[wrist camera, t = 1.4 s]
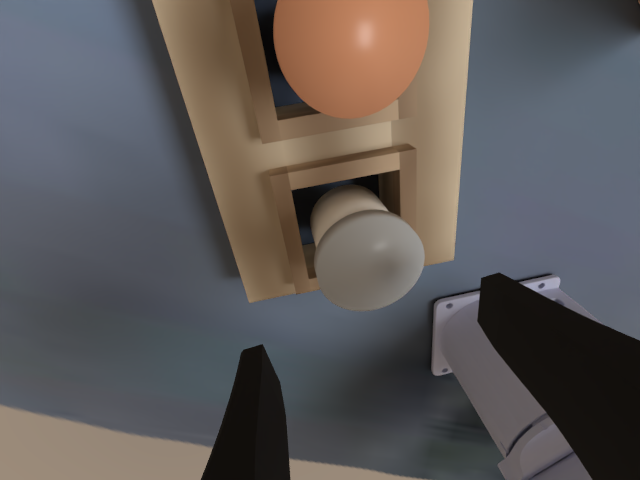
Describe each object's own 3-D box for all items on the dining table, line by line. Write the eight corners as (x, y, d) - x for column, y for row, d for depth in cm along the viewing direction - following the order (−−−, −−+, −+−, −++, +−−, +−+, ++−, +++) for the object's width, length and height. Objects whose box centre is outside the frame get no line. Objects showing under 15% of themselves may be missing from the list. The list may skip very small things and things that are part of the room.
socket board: (447, -96, 14) (500, -137, 11) (434, 239, 22) (462, 269, 19) (149, -55, 13) (116, -84, 10) (250, 276, 21) (248, 315, 18)
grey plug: (387, 170, 16) (425, 208, 13) (390, 247, 19) (423, 299, 15) (297, 188, 16) (308, 231, 12) (311, 264, 18) (324, 320, 15)
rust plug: (378, -41, 12) (431, -80, 8) (383, 90, 15) (427, 105, 11) (257, -23, 12) (257, -55, 8) (282, 108, 14) (290, 130, 10)
